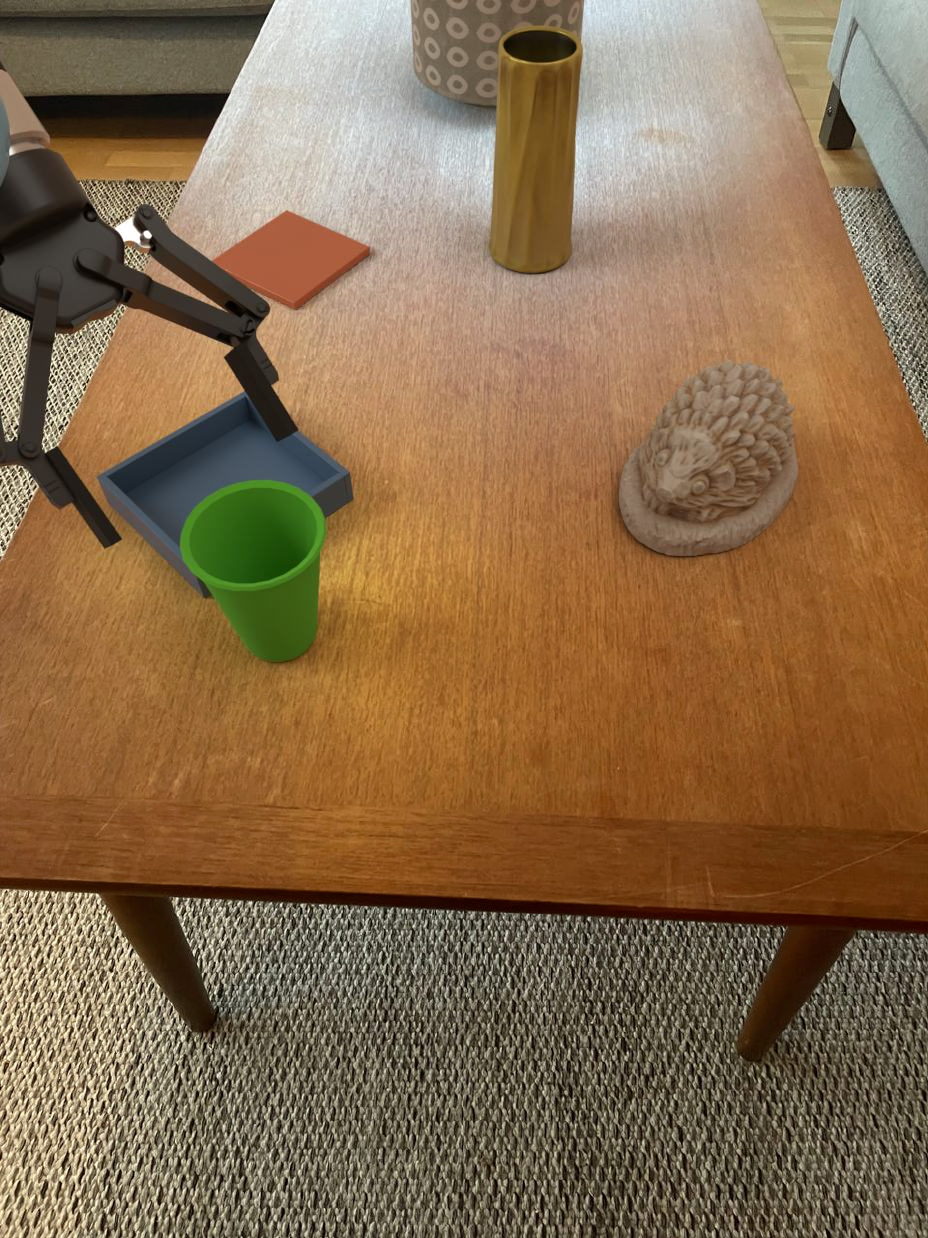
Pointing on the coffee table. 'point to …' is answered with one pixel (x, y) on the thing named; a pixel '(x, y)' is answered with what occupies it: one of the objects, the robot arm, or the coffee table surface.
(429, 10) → the planter
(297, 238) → the terracotta coaster
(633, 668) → the coffee table surface
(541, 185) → the vase
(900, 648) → the coffee table surface
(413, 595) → the coffee table surface
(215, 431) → the blue tray
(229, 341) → the robot arm
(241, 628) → the cup
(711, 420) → the sculpture
